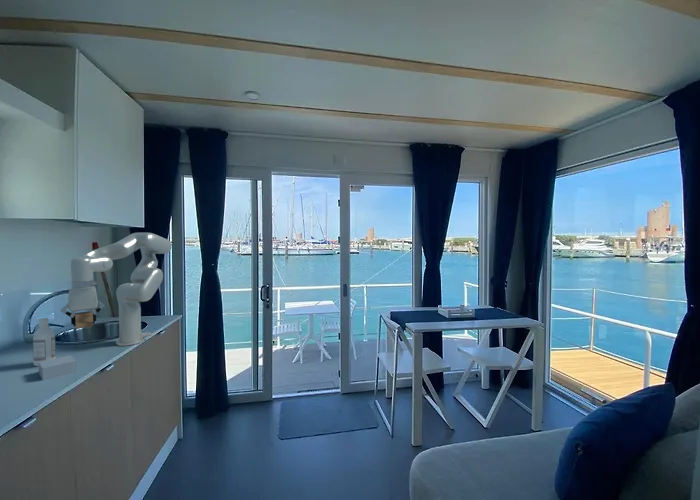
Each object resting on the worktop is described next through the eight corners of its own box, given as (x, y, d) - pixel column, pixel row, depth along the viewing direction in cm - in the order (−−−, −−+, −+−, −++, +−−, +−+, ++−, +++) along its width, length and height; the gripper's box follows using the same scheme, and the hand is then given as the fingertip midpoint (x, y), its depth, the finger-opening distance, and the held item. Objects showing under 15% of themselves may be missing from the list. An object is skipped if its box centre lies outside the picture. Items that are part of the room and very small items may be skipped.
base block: (70, 366, 138) (70, 355, 138) (76, 372, 132) (75, 360, 132) (38, 374, 130) (38, 362, 130) (42, 381, 124) (42, 368, 124)
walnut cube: (92, 323, 149) (91, 311, 149) (93, 326, 145) (92, 313, 145) (75, 326, 145) (74, 313, 145) (75, 329, 141) (75, 315, 141)
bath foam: (50, 359, 145) (49, 316, 145) (58, 362, 143) (57, 317, 142) (30, 365, 139) (29, 319, 139) (38, 367, 136) (37, 321, 136)
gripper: (105, 282, 153) (106, 319, 154) (56, 285, 141) (58, 326, 142) (107, 283, 148) (108, 322, 148) (56, 287, 136) (58, 329, 137)
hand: (84, 323), depth 145 cm, fingers closed on walnut cube, 6 cm apart
